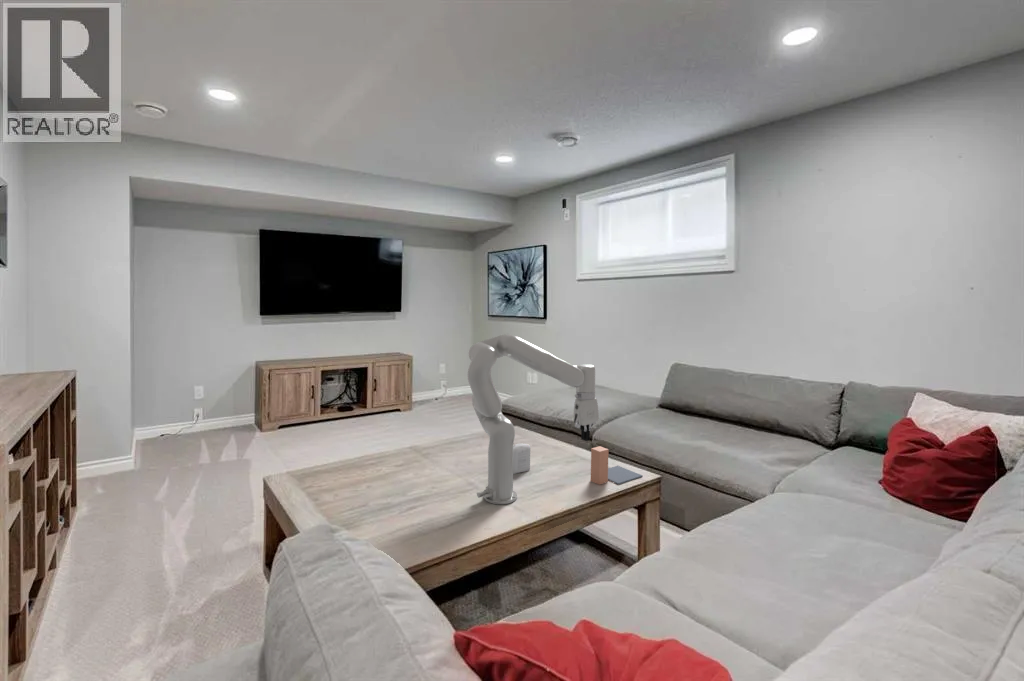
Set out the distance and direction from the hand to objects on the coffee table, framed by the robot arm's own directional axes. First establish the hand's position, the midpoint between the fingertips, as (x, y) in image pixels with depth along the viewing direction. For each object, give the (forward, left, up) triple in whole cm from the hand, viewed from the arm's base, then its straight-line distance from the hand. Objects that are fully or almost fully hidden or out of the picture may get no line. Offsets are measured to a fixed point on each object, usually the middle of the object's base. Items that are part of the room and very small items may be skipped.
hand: (585, 439), depth 193 cm
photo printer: (-12, +28, -20) cm, 37 cm away
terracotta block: (+9, 0, -19) cm, 21 cm away
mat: (+20, 0, -19) cm, 28 cm away
